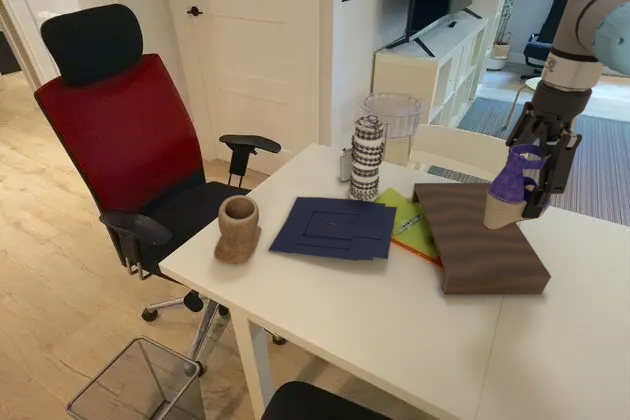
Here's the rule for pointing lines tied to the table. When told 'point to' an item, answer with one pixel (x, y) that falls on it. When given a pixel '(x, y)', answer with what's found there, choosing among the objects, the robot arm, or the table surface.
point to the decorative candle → (366, 158)
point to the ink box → (346, 165)
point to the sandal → (512, 189)
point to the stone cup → (237, 229)
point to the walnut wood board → (477, 243)
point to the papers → (337, 229)
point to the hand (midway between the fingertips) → (517, 199)
